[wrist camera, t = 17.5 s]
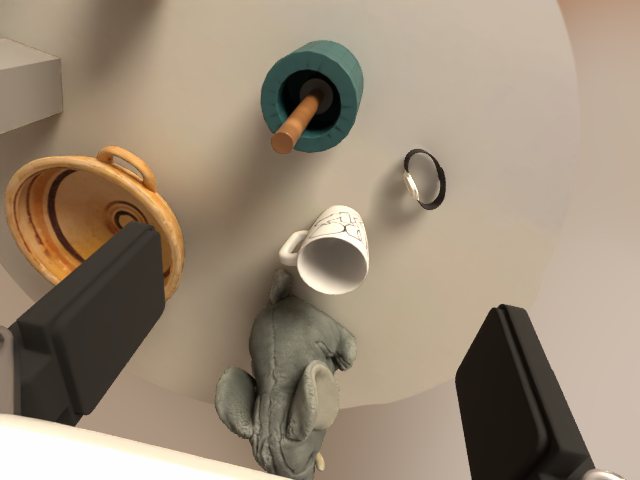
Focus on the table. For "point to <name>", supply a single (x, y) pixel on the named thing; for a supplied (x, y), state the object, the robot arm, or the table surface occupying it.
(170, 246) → the ceramic bowl
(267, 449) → the stuffed elephant
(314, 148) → the teal hollow cylinder
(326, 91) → the brush
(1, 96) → the perfume bottle
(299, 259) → the mug
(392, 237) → the table surface
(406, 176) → the watch
